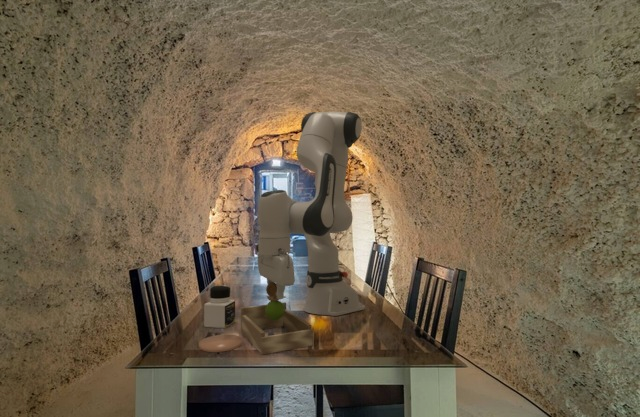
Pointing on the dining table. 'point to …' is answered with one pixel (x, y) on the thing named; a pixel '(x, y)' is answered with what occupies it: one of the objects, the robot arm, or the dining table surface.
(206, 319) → the medicine bottle
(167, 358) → the dining table surface
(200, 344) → the tan disc
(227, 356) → the dining table surface
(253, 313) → the cold frame
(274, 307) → the snail figurine
